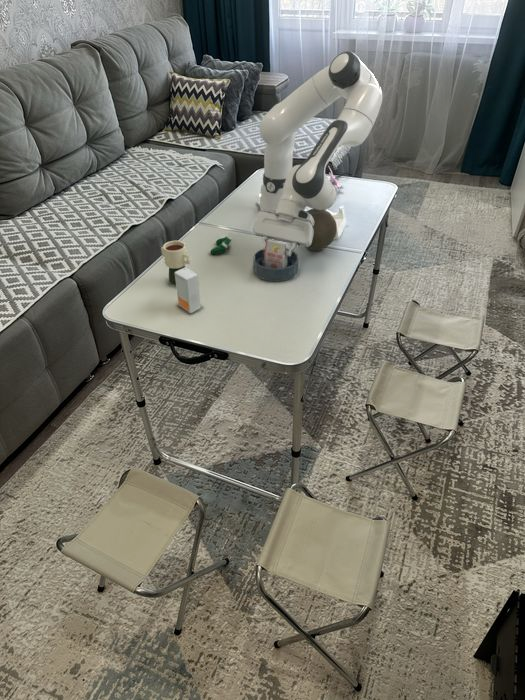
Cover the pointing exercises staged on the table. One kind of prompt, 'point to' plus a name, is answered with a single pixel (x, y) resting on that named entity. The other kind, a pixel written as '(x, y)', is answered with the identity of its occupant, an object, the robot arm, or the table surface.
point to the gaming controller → (221, 245)
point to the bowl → (275, 273)
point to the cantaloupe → (322, 229)
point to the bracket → (339, 221)
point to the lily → (334, 180)
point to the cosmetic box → (187, 290)
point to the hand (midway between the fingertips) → (276, 253)
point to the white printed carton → (275, 255)
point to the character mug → (175, 257)
